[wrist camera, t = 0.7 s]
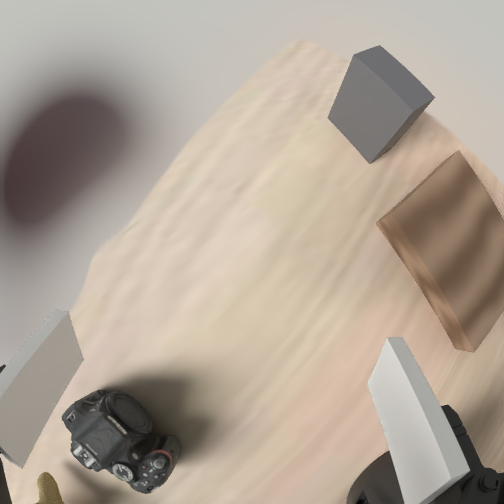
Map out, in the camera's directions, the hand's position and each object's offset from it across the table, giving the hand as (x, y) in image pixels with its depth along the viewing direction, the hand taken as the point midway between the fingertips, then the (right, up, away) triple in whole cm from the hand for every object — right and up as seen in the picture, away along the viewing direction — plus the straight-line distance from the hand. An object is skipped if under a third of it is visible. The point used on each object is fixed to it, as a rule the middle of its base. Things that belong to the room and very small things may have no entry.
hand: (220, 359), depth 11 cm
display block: (+28, +4, +21) cm, 35 cm away
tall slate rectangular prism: (+15, +19, +23) cm, 34 cm away
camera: (-13, -16, +17) cm, 27 cm away
